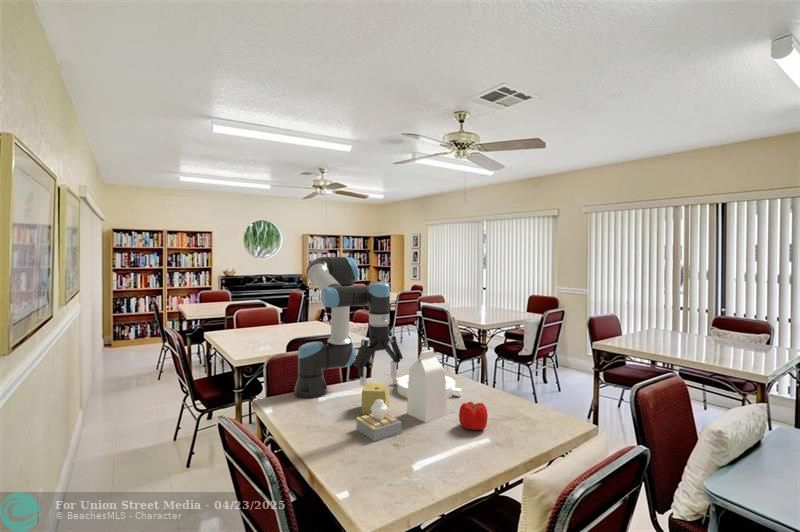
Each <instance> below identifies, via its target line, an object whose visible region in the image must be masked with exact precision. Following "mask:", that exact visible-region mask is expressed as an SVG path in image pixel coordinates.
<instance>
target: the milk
mask: <svg viewBox="0 0 800 532" xmlns="http://www.w3.org/2000/svg"><path fill="white" fill-rule="evenodd" d="M408 375H409V380H408V398H407V400H406V401H407V402H406V415H409V416H411V417H413V418H415V419H418V420H419V421H422V422H424V423H429V422H431V421H434V420H438V419H440V418H443V417H445V416H448V409H447V408H448V405H447V399H446V382H445V376H446V371H445V368H444V366H443V365H442V364H441V363H440V361H439V360H438V358H437V357H436V354H435V351H434V350H433V349H430V350H429V349H428V350H425V351H421V352H420V354H419V357H418V359H417V360H416V361H415V362H414V363H412V365H411V366H410V368H409V369H408Z"/></svg>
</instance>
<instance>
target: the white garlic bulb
mask: <svg viewBox="0 0 800 532" xmlns="http://www.w3.org/2000/svg"><path fill="white" fill-rule="evenodd" d="M371 411H372V414H373V416H374V418H375V419H383V418H384V416H385V414H386V413H387V411H388V408H387V406H386V405H385V404H384V401H383V400H381V399H377V400H375V402H374V404H373V406H372V407H371Z"/></svg>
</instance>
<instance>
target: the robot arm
mask: <svg viewBox="0 0 800 532" xmlns="http://www.w3.org/2000/svg"><path fill="white" fill-rule="evenodd" d="M305 271H306V273H305V274H306V277H307V278H308V281H309V282H310V283H312V284H313V285H315V286H316V287H317V288H318V289H319V291H320V292H321V302H322V305H323V307H325V308H331V313H330V314H331V316H330V317H331V318H330V320H331V321H330V337H329V338H328V339H327V340H326V341H327V344H324V342H322V341H312V342H306V343H304V344H302V345H300V346H299V348H298V353H297V361H298V362H297V366H298V367H297V380H296V382H295V386H294V390H293V391H294V396H296V397H298V398H302V399H312V398H318V397H322V396H324V395H326V394H327V393H328V386H327V383H326V380H325V377H324V370H331V369H341V368H343V369H344V368H347V367H350V366H352V365H353V367H356V368H357V369H358V370H357V371H358V372H357V373H358V377H359V385H360V386H362V387H365V386H366V383H367V378H366V377H367V368H366V367H365V366H366V364H367V363H368V362H369V360H370V359H371V357H372V356H373V354H374V353H376V352H378V351H385V352H386V353H387V355H389V357H390V358H391V359H392V360H390V378H391V379H392V380H393V379H394V380H396V379H397V377H398V376H397V375H398V374H397V373H398V372H397V371H398V370H399V363H400V362H401V360H403V358H404V357H403V354H402V352H401V350H400V347H399V345H398V343H397V337H396V336H395V335H391V334H390V326H389V324H390V304H391V299H390V298H391V297H390V296H391V290H390V289H391V287H390V284H389V283H387V282H372V283H369V284H368V285H362V286H354V282H356V281H358V279H359V268H358V264H357V261H356V260H355V259H354V258H353V257H351V256H350V257H348V256H322V257H321V256H320V257H317V258H315V259H313V260H312V261H311V262H309V264H308V265H307V268H306V270H305ZM365 306H367V307H368V324H369V326H368V335H369V336H368V337H369V338H368V339H364V338H363V339H361V345H360V347H359V349H358V352H357V354H356V346H355V344H354V342H352V339H351V338H350V337H349V333H350V332H349V331H350V330H349V329H350V307H365ZM389 343H390V345H391V346H390V345H389Z"/></svg>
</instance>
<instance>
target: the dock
mask: <svg viewBox="0 0 800 532" xmlns="http://www.w3.org/2000/svg"><path fill="white" fill-rule="evenodd" d="M356 429H357V431H358V432H359V431H360V432H359V433H361V434H362V433H363V434H362V435H364V436H365V435H366V436H367V437H366V436H365V437H366V438H368V437H369V438H370V439H369V438H368V439H369V440H371V439H372V440H373V442H377V441H379V439H380V440H384V439H386V437H387V438H389V436H390V437H392V436H396V435H399V434H402V421H401V420H399V419H398V418H395V416H392V415H391V414H389V413H387V412H386V414H385V416H384V418H383V419H375V418H374V416H373V414H363V415H362V416H357V417H356ZM383 438H384V439H383ZM372 440H371V441H372ZM376 440H377V441H376Z"/></svg>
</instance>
